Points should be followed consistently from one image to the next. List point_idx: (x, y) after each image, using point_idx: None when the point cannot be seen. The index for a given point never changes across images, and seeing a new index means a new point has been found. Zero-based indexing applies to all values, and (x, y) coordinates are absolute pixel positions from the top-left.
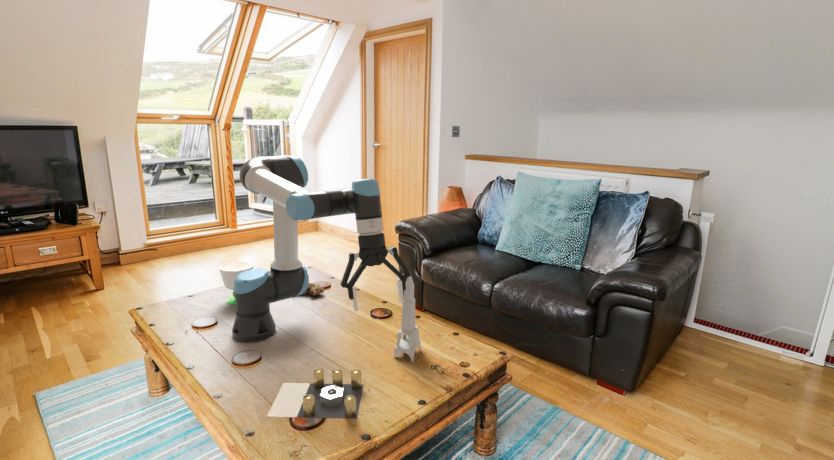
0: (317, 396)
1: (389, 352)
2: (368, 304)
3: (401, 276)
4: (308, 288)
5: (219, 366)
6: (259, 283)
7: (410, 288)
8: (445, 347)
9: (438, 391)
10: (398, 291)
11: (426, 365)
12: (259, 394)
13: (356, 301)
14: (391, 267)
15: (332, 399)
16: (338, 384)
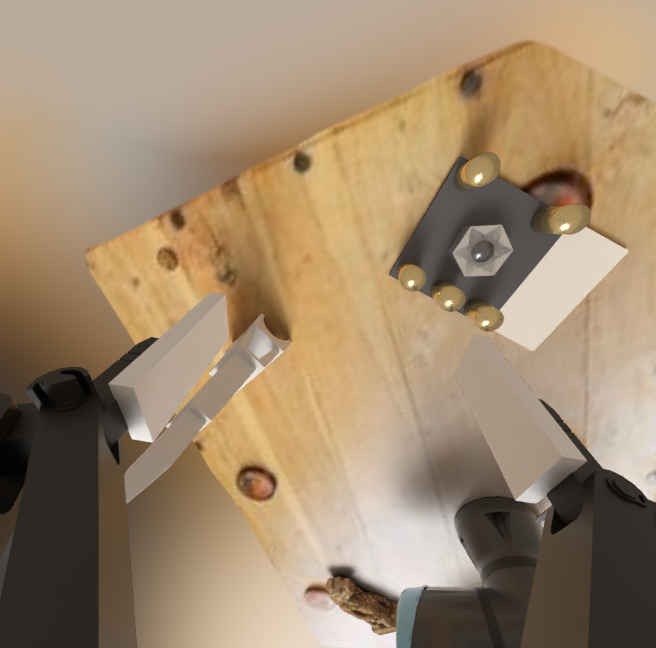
0: (495, 275)
1: (292, 362)
2: (267, 516)
3: (68, 420)
4: (353, 599)
5: (606, 456)
6: None
7: (149, 448)
8: None
9: (254, 186)
10: (202, 368)
11: (241, 288)
12: (590, 338)
13: (504, 371)
14: (54, 612)
15: (493, 225)
16: (448, 282)
